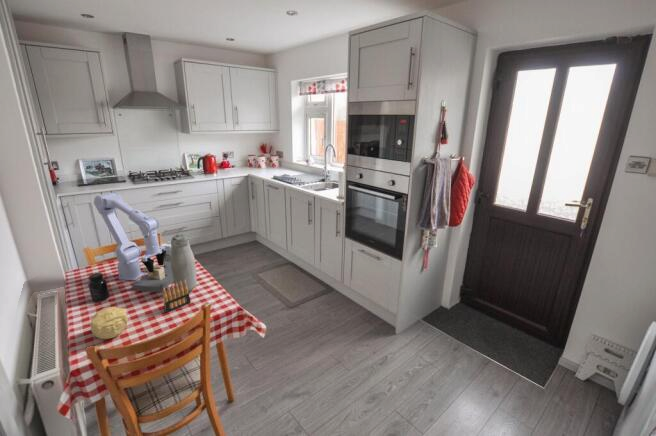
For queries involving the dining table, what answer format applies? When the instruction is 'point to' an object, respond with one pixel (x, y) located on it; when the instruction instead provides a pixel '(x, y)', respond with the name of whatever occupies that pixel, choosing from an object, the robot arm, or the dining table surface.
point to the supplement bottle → (98, 287)
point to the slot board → (154, 282)
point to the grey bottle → (183, 262)
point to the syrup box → (167, 255)
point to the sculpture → (109, 322)
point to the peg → (157, 273)
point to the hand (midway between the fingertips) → (156, 268)
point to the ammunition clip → (175, 297)
